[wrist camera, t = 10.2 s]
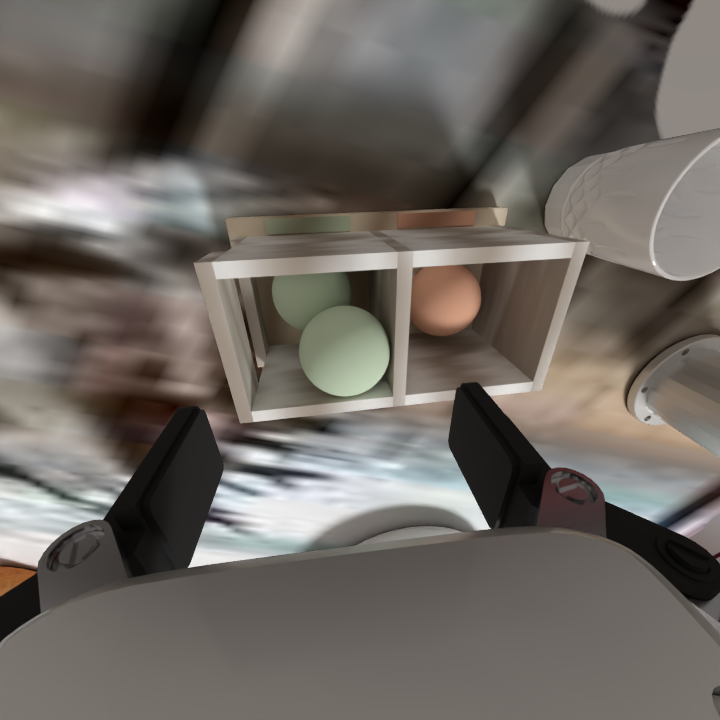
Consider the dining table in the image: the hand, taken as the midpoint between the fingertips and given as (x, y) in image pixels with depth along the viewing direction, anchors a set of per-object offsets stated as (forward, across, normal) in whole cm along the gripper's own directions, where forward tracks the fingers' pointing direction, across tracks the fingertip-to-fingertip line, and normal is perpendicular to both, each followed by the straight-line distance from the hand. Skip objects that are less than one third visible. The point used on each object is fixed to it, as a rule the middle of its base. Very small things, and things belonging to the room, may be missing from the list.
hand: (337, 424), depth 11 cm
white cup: (+18, -22, -6) cm, 29 cm away
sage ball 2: (+8, -1, +1) cm, 8 cm away
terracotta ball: (+13, -9, 0) cm, 15 cm away
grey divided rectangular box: (+17, -4, 0) cm, 17 cm away
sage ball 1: (+12, +1, -2) cm, 13 cm away
